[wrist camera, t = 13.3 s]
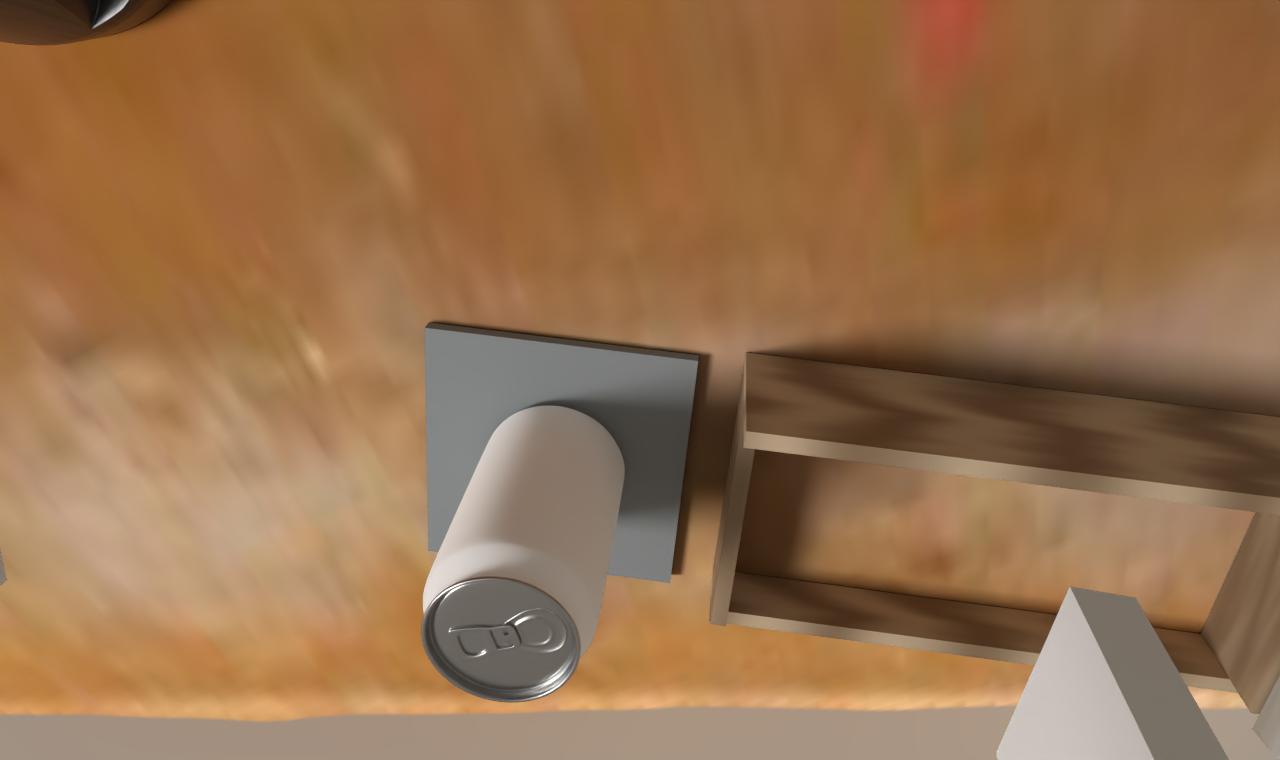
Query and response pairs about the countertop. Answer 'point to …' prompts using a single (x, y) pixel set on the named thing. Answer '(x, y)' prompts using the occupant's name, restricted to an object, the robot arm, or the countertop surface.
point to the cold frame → (1020, 452)
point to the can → (526, 557)
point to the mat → (573, 378)
